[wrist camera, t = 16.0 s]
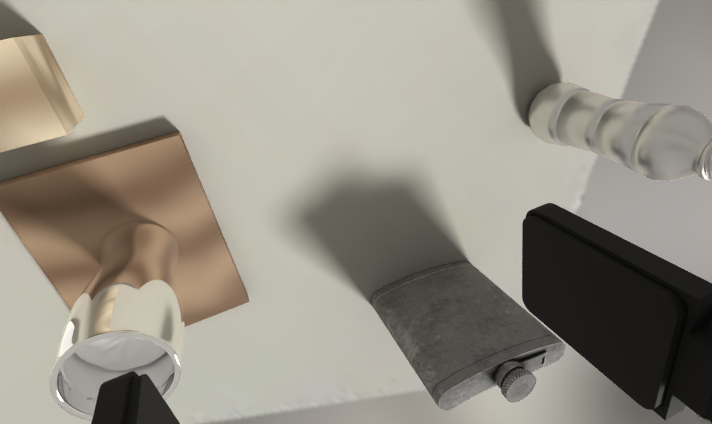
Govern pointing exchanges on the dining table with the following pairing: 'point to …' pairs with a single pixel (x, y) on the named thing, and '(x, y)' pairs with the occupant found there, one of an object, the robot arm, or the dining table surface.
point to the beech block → (33, 94)
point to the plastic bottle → (626, 131)
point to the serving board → (124, 220)
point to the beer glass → (123, 320)
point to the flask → (465, 334)
